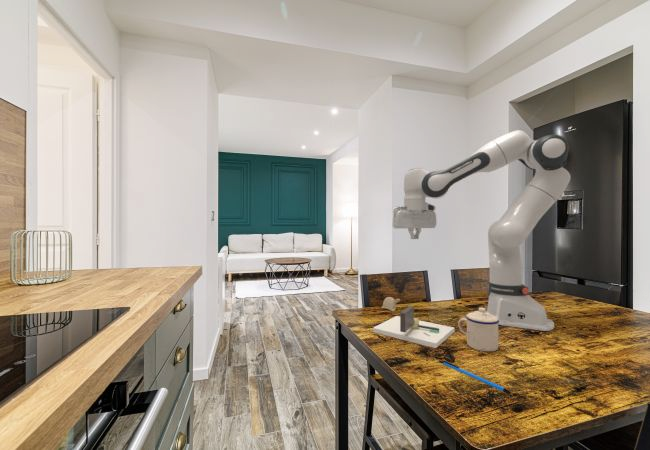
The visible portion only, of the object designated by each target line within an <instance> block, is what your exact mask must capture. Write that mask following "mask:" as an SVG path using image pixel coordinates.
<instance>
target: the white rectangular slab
mask: <svg viewBox="0 0 650 450" xmlns="http://www.w3.org/2000/svg"><path fill="white" fill-rule="evenodd" d="M419 325H422V326H428V327H434V328H439V331H437V330H431V329H425V328H420V327H419V328H409V329H408V330H407V331H406V332H400V315H395V316H393V317H391V318H390V319H387V320H386V321H384V322H382V323H380V324H378V325H376V326H374V327H372V333H375V334H379V335H383V336H386V337H391V338H395V339H397V340H402V341H406V342H409V343H412V344H413V343H414V344H418V345H420V346H421V345H422V346H426V347H428V348H433V349H437V348H438V347H439V346H440V345H442V343H444V342H445V341H446V340H448V338H450V337H451V336H452V335H453V334H454V333H455V331H456V329H455V327H452V326H449V325H443V324H438V323H434V322H429V321H424V320H420V319H419Z"/></svg>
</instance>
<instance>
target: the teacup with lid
mask: <svg viewBox="0 0 650 450" xmlns="http://www.w3.org/2000/svg"><path fill="white" fill-rule="evenodd" d="M486 311H487V308H484V307H479V308H478V310H475V311H472V312H469V313H467V314H466V316H465V317H462V318H459V319H458V327H459V330H460V332H461V333H463V334H465V335H466V344H467V346H469V347H470V348H472V349H474V350H476V351H477V350H478V351H481V352H495V351H497V350H498V349H499V324H498V323H499V319H498V318H497V317H496V316H494V315H492V314H490V313H489V312H486ZM463 321H464V322H466V330H465V329H464V328H463V325H462V322H463Z"/></svg>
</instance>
